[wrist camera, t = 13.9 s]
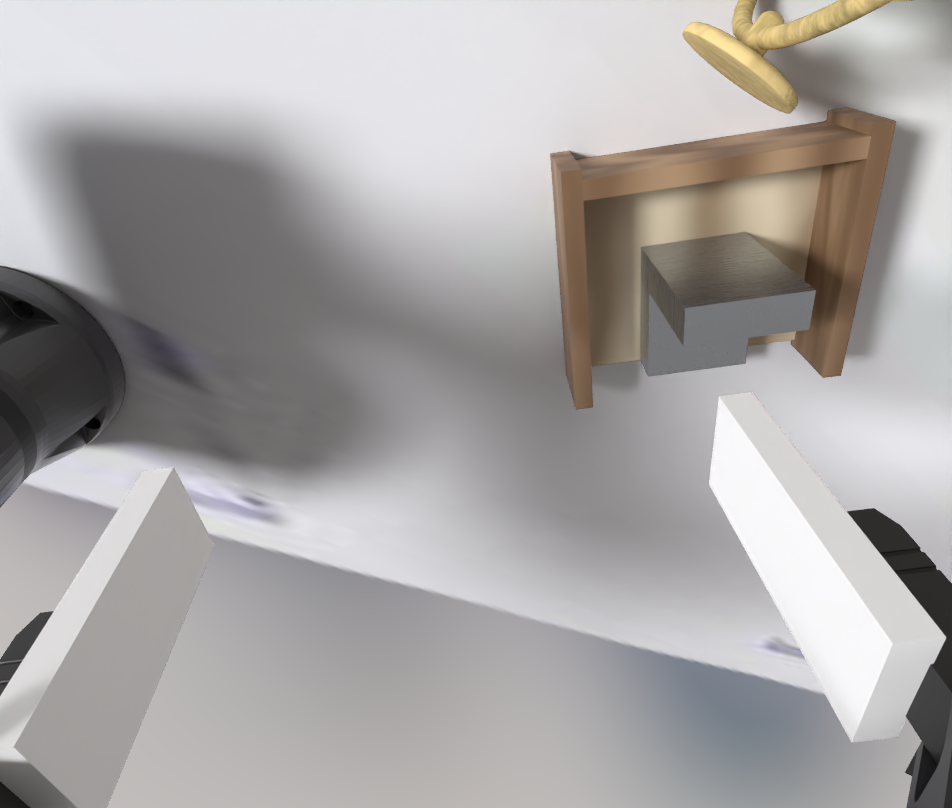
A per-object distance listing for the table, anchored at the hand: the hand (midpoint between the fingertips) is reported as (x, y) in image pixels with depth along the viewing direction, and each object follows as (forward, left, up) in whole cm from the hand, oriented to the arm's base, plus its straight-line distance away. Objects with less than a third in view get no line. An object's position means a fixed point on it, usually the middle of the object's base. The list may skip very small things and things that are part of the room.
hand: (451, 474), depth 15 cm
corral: (+15, -8, -29) cm, 34 cm away
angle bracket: (+15, -11, -29) cm, 34 cm away
